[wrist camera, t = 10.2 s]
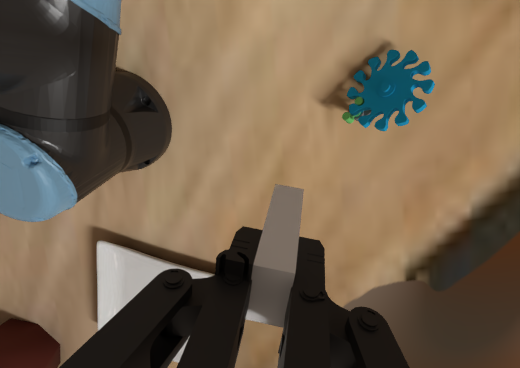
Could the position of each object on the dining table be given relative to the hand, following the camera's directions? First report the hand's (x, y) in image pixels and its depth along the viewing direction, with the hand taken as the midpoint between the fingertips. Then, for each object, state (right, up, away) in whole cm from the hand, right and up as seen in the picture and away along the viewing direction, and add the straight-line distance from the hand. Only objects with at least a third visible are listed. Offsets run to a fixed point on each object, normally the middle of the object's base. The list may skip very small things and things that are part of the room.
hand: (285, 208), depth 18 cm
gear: (+14, +14, +25) cm, 32 cm away
